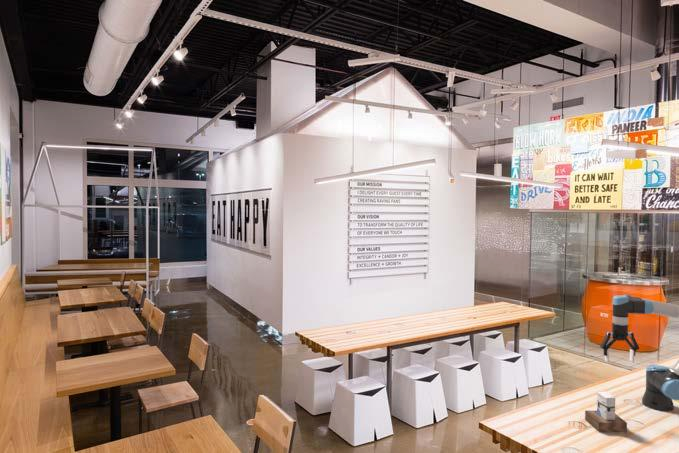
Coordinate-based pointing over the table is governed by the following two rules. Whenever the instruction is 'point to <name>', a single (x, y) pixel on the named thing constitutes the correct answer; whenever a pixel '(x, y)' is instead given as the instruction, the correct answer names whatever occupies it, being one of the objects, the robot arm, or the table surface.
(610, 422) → the walnut pedestal
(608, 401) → the ink box
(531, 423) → the table surface
